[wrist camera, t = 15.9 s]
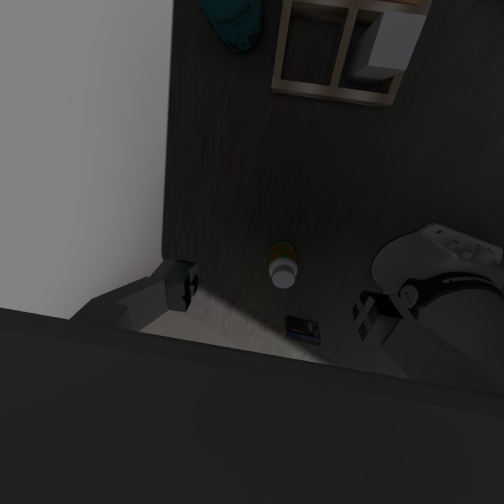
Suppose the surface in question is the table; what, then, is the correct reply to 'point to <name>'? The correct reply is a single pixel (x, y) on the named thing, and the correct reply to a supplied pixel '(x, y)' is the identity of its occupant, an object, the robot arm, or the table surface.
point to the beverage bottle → (235, 21)
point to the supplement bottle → (282, 264)
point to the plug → (385, 47)
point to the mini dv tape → (302, 330)
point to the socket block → (340, 46)
